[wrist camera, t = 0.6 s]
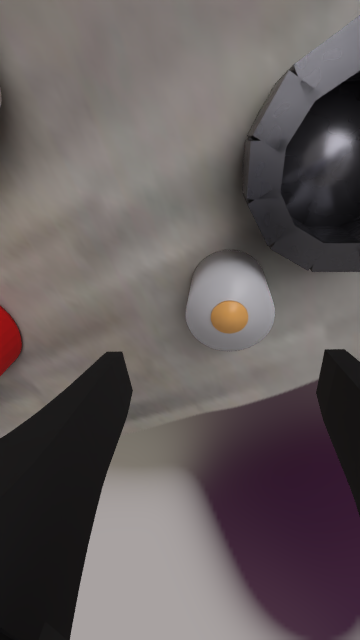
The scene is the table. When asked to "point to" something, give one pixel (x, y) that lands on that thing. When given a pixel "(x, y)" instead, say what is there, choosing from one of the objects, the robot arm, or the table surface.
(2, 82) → the table surface
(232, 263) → the boiled egg half
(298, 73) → the dark grey round ring
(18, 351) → the soda can
